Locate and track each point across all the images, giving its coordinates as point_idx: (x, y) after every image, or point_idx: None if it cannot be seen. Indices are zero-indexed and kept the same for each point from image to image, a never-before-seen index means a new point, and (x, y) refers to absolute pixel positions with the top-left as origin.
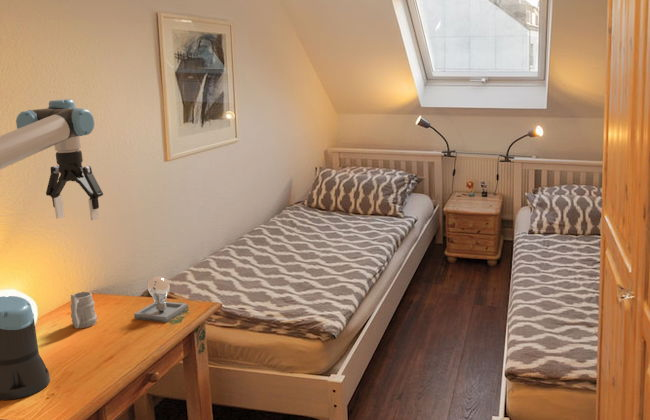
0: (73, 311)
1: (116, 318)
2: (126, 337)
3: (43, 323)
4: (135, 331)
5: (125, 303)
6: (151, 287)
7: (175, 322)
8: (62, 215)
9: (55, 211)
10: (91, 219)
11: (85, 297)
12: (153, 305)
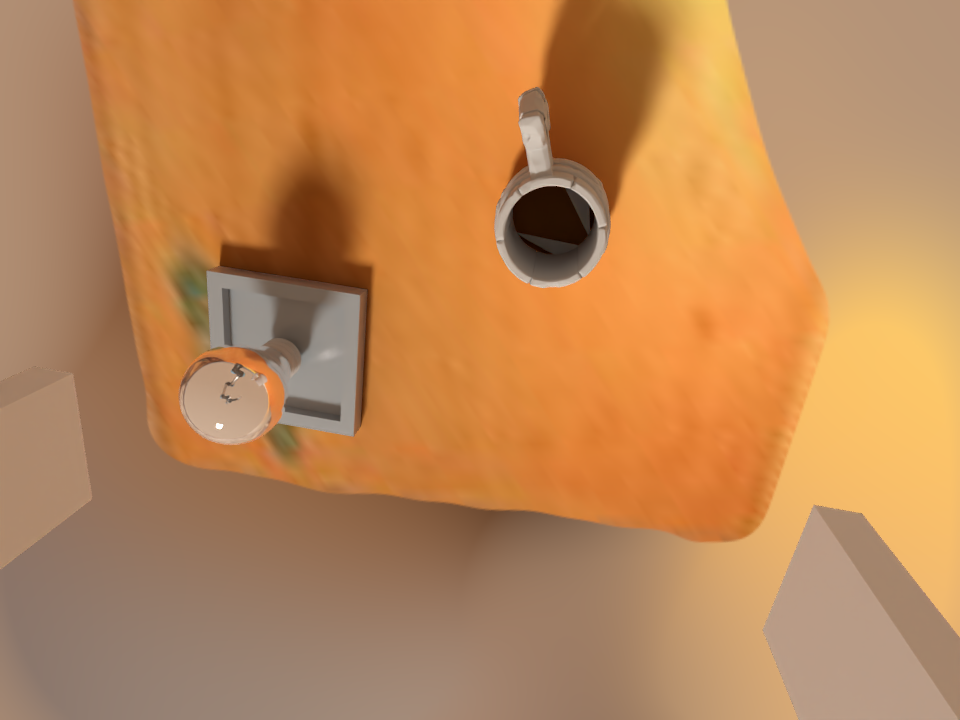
0: (525, 95)
1: (448, 286)
2: (279, 90)
3: (769, 193)
4: (283, 159)
5: (505, 442)
6: (231, 356)
7: (188, 270)
8: (786, 621)
9: (947, 624)
10: (52, 377)
11: (504, 202)
12: (342, 393)
